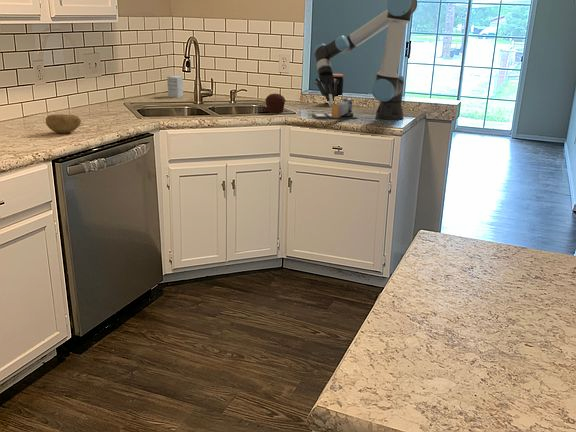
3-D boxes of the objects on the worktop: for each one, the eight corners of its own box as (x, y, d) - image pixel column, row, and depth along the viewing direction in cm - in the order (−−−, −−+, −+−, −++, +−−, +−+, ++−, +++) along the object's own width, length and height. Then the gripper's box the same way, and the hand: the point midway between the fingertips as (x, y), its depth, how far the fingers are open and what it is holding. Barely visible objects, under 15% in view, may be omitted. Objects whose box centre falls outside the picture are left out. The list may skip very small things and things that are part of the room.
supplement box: (173, 95, 374) (172, 75, 370) (183, 96, 372) (182, 76, 368) (167, 96, 367) (166, 76, 363) (177, 97, 365) (177, 77, 361)
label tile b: (323, 115, 316) (323, 113, 316) (327, 118, 307) (327, 116, 307) (312, 115, 315) (312, 113, 315) (316, 118, 306) (316, 116, 306)
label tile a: (335, 115, 318) (335, 113, 317) (340, 119, 309) (340, 116, 308) (324, 115, 317) (324, 113, 316) (329, 118, 307) (329, 116, 307)
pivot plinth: (352, 116, 319) (352, 111, 318) (357, 118, 311) (357, 114, 310) (336, 116, 317) (336, 111, 317) (341, 118, 309) (341, 113, 308)
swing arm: (344, 111, 316) (344, 98, 314) (352, 112, 315) (353, 98, 312) (329, 116, 296) (330, 102, 294) (339, 117, 294) (340, 103, 292)
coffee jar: (341, 102, 370) (343, 74, 364) (341, 105, 360) (343, 75, 354) (325, 102, 371) (326, 73, 365) (324, 104, 361) (326, 74, 355)
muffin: (289, 112, 324) (290, 94, 321) (275, 114, 316) (276, 95, 313) (274, 109, 331) (274, 92, 328) (260, 111, 324) (260, 93, 320)
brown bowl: (82, 134, 246) (81, 115, 244) (47, 135, 241) (45, 116, 238) (80, 130, 255) (79, 111, 252) (46, 131, 249) (44, 112, 247)
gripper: (334, 74, 312) (342, 110, 302) (311, 74, 309) (317, 110, 299) (338, 65, 305) (345, 101, 295) (314, 64, 303) (320, 101, 292)
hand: (331, 105), depth 297 cm, fingers closed
